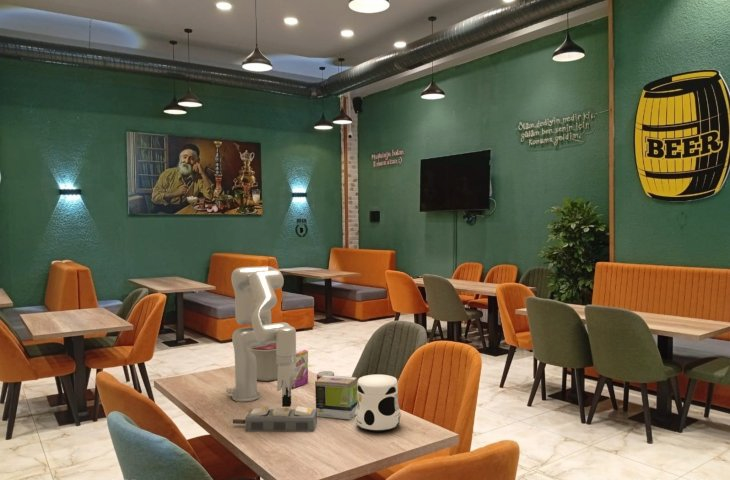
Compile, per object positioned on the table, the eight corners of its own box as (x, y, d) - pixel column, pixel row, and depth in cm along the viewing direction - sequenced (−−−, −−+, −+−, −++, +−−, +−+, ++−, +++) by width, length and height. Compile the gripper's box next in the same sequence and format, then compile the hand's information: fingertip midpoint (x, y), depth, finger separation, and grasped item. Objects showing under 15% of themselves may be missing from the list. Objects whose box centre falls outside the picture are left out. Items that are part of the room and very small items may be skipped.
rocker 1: (251, 417, 205) (250, 413, 205) (254, 413, 210) (253, 408, 210) (266, 414, 205) (265, 410, 205) (269, 409, 210) (268, 405, 210)
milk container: (349, 422, 211) (348, 376, 211) (389, 415, 218) (388, 371, 217) (365, 438, 195) (364, 389, 195) (408, 430, 202) (407, 383, 201)
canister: (292, 375, 277) (291, 334, 277) (272, 385, 261) (272, 342, 260) (263, 371, 285) (262, 332, 284) (242, 381, 268) (241, 339, 268)
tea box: (358, 412, 222) (358, 376, 222) (349, 420, 213) (349, 383, 212) (325, 408, 227) (324, 373, 227) (315, 416, 218) (314, 380, 217)
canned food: (335, 394, 245) (335, 370, 245) (333, 400, 237) (332, 376, 237) (319, 394, 246) (318, 370, 245) (315, 400, 238) (315, 375, 237)
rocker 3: (294, 414, 205) (295, 410, 204) (296, 409, 210) (297, 405, 209) (309, 417, 204) (310, 413, 204) (311, 413, 209) (312, 408, 209)
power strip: (229, 431, 204) (229, 417, 204) (236, 422, 213) (236, 409, 213) (313, 431, 202) (313, 417, 202) (317, 422, 211) (316, 409, 211)
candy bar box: (293, 389, 254) (292, 354, 254) (285, 387, 257) (284, 353, 256) (308, 383, 263) (308, 350, 263) (301, 381, 266) (300, 348, 266)
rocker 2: (272, 415, 205) (272, 411, 205) (275, 411, 210) (275, 406, 210) (288, 416, 205) (288, 411, 205) (290, 411, 210) (290, 407, 210)
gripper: (280, 353, 214) (280, 399, 215) (272, 364, 199) (272, 413, 200) (299, 353, 214) (299, 399, 215) (292, 364, 199) (292, 413, 200)
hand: (286, 405), depth 208 cm, fingers closed
